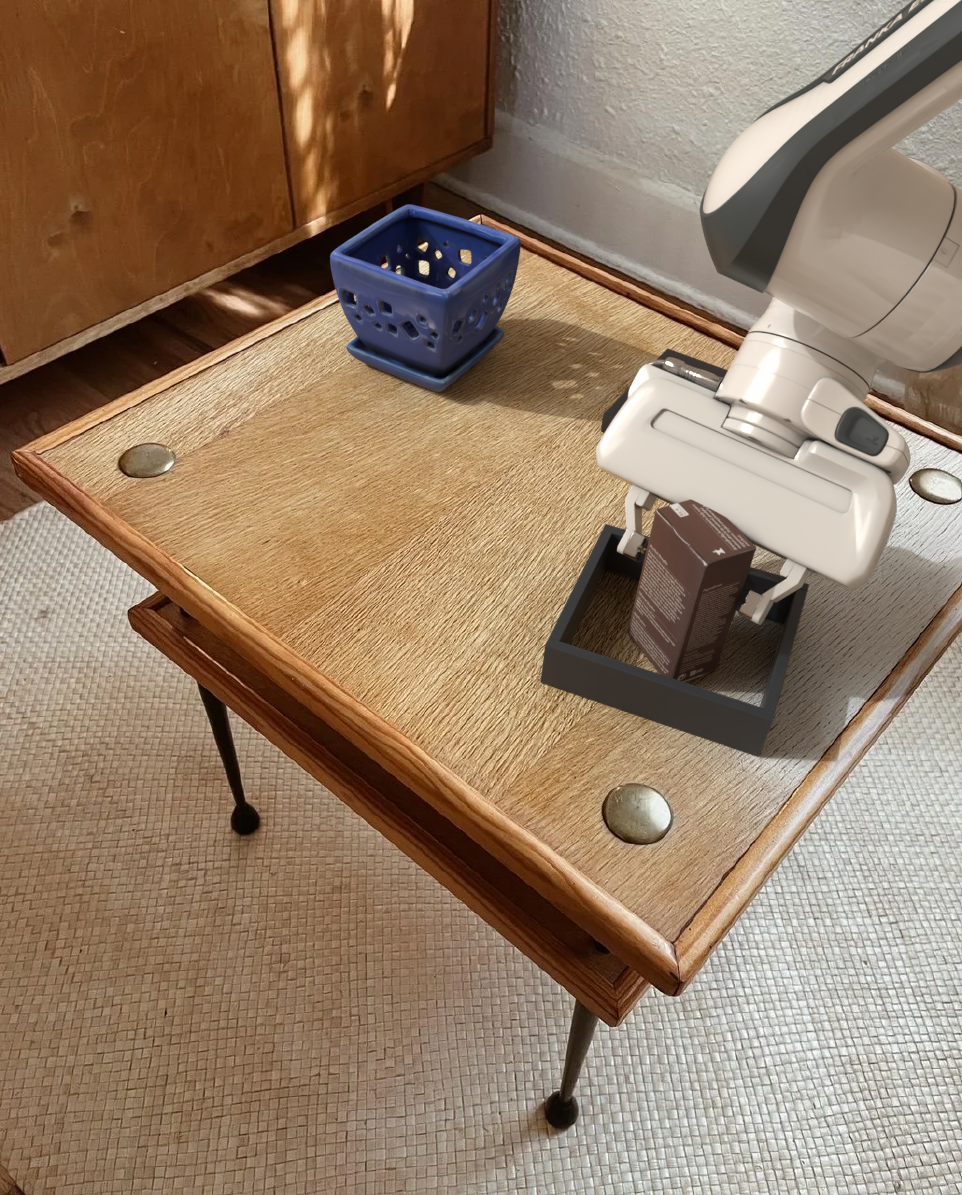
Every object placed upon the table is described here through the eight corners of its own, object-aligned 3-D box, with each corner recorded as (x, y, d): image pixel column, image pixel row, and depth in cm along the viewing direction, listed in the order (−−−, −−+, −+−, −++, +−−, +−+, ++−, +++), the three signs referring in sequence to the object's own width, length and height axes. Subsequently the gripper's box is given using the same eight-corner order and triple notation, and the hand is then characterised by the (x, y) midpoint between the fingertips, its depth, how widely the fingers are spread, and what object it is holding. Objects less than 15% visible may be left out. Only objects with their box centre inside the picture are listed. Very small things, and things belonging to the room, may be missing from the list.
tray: (795, 621, 78) (809, 583, 75) (758, 757, 69) (773, 720, 66) (599, 561, 81) (605, 523, 78) (539, 682, 72) (544, 645, 69)
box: (721, 669, 74) (760, 547, 65) (668, 689, 72) (701, 567, 64) (674, 613, 78) (706, 491, 69) (623, 631, 76) (649, 508, 67)
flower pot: (330, 367, 98) (321, 251, 90) (409, 309, 107) (407, 197, 98) (446, 414, 94) (448, 296, 85) (519, 349, 102) (528, 236, 93)
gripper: (639, 333, 70) (545, 514, 71) (932, 453, 62) (819, 656, 63) (661, 361, 75) (574, 529, 77) (931, 475, 67) (828, 660, 69)
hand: (686, 587), depth 70 cm, fingers open, 8 cm apart
